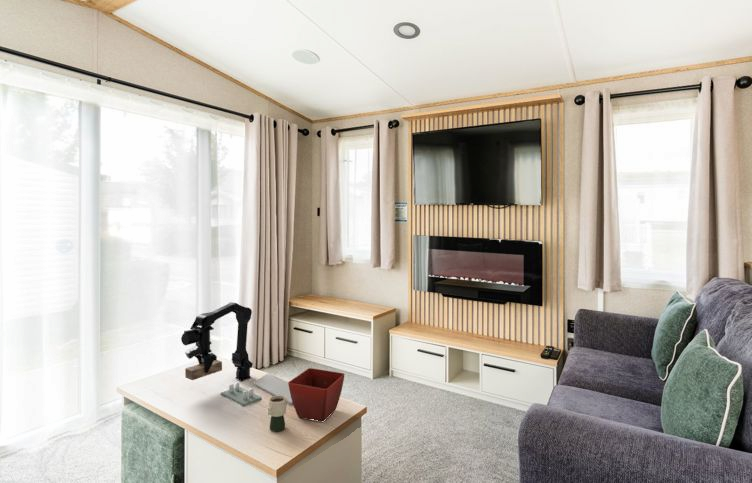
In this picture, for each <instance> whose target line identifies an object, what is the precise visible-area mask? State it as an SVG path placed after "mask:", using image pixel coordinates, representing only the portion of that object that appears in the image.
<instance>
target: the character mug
mask: <svg viewBox="0 0 752 483" xmlns="http://www.w3.org/2000/svg"><path fill="white" fill-rule="evenodd" d="M287 405H288V403H287V399H286V397H285V396H283V395H276V396H274V395H272V396H270V397H269V398H268V407H267V415H268V416H271V417H270V422H269V430H270V431H275V432H280V431H283V430H284V429H285V428H286V421H285V415H286V413H287V412H286V411H287Z"/></svg>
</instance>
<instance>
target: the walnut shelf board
mask: <svg viewBox="0 0 752 483" xmlns="http://www.w3.org/2000/svg"><path fill="white" fill-rule="evenodd" d="M221 371H223V362H222V361H221V360H218V359H217V360H215V361H213V363H212V365H211V367H210V369H209V371H208V373H205V369H204V363H201V364H199V363H197V364H195V365H192V366H189V367H186V368H185V374H184V375H185V378H186V379H188V380H191V381H196V380H198V379H200V378H203V377H206V376H210V375H213V374H216V373H218V372H219V373H220V372H221Z"/></svg>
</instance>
